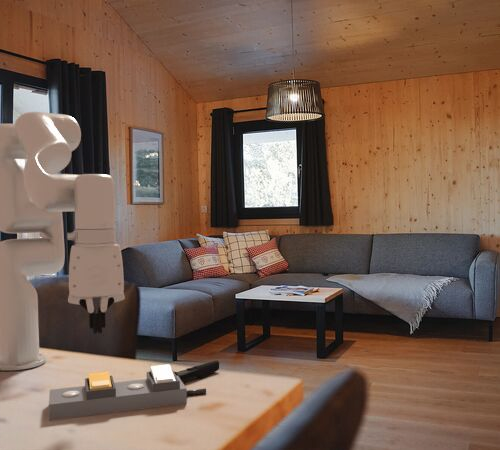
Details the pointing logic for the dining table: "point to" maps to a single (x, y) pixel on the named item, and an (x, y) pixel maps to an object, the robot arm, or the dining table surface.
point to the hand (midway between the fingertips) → (97, 331)
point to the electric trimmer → (198, 371)
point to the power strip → (117, 397)
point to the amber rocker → (99, 381)
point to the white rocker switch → (162, 373)
